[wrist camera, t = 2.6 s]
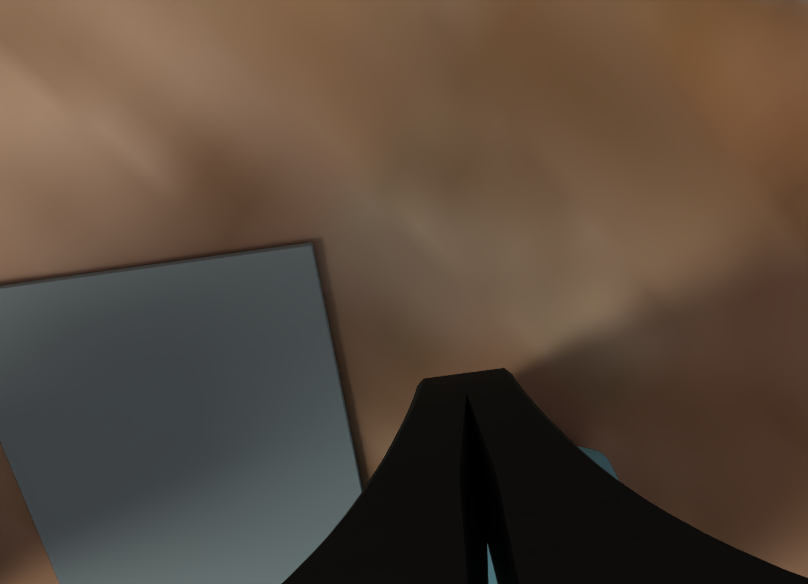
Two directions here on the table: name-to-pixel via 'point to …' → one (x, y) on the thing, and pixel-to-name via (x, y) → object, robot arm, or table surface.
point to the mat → (177, 418)
